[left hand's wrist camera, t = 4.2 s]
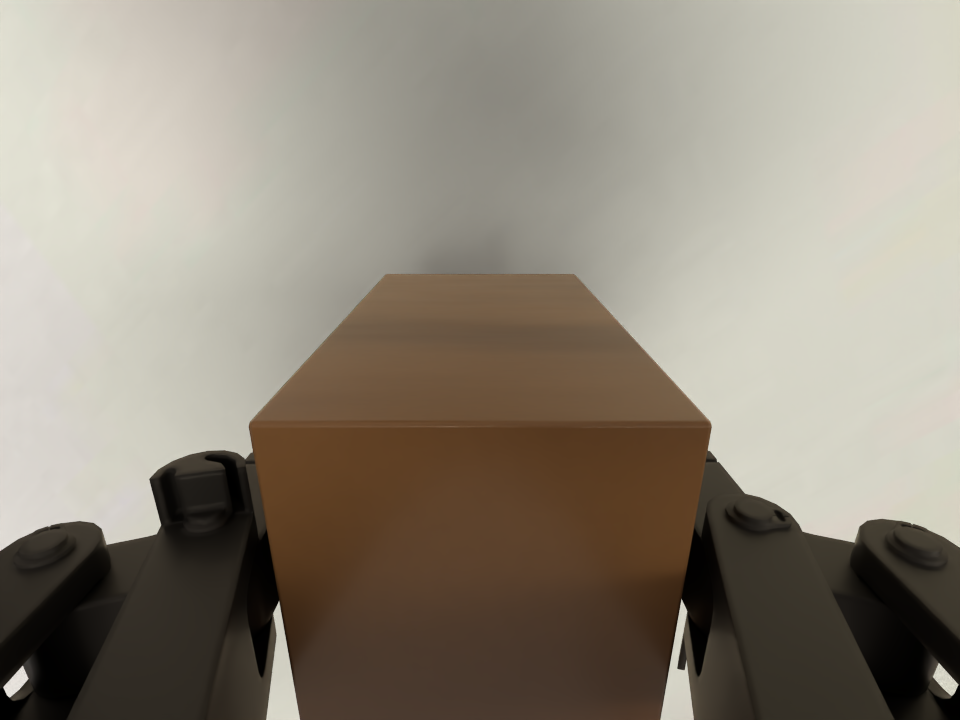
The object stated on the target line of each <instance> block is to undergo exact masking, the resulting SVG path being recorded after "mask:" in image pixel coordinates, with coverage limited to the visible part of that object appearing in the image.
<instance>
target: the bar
mask: <svg viewBox="0 0 960 720" xmlns="http://www.w3.org/2000/svg"><path fill="white" fill-rule="evenodd" d="M711 428H712V427H711V422H710V421H709V420H708V419H707V418H706V417H705V415H704V414H703V413H702V412H701V411H700V410H699V409H698V408H697V407H696V406H695V405H694V404H693V402H692V401H691V400H690V399H689V398H688V397H687V396H686V395H685V394H684V393H683V392H682V390H681V389H680V388H679V387H678V386H677V385H676V384H675V383H674V382H673V381H672V380H671V379H670V377H669V376H668V375H667V374H666V373H665V372H664V371H663V370H662V369H661V368H660V367H659V366H658V364H657V363H656V362H655V361H654V360H653V359H652V358H651V357H650V356H649V355H648V354H647V352H646V351H645V350H644V349H643V348H642V347H641V346H640V345H639V344H638V343H637V342H636V341H635V339H634V338H633V337H632V336H631V335H630V334H629V333H628V332H627V331H626V330H625V329H624V327H623V326H622V325H621V324H620V323H619V322H618V321H617V320H616V319H615V318H614V317H613V316H612V314H611V313H610V312H609V311H608V310H607V309H606V308H605V307H604V306H603V305H602V304H601V303H600V301H599V300H598V299H597V298H596V297H595V296H594V295H593V294H592V293H591V292H590V291H589V289H588V288H587V287H586V286H585V285H584V284H583V283H582V282H581V281H580V280H579V279H578V278H577V276H576V275H574V274H386V275H385V276H384V277H383V278H382V279H381V280H380V281H379V282H378V283H377V285H376V286H375V287H374V288H373V289H372V290H371V291H370V292H369V293H368V294H367V295H366V297H365V298H364V299H363V300H362V301H361V302H360V303H359V304H358V305H357V306H356V307H355V308H354V310H353V311H352V312H351V313H350V314H349V315H348V316H347V317H346V318H345V319H344V320H343V321H342V323H341V324H340V325H339V326H338V327H337V328H336V329H335V330H334V331H333V332H332V333H331V334H330V336H329V337H328V338H327V339H326V340H325V341H324V342H323V343H322V344H321V345H320V346H319V348H318V349H317V350H316V351H315V352H314V353H313V354H312V355H311V356H310V357H309V358H308V359H307V361H306V362H305V363H304V364H303V365H302V366H301V367H300V368H299V369H298V370H297V371H296V372H295V374H294V375H293V376H292V377H291V378H290V379H289V380H288V381H287V382H286V383H285V384H284V385H283V387H282V388H281V389H280V390H279V391H278V392H277V393H276V394H275V395H274V396H273V397H272V399H271V400H270V401H269V402H268V403H267V404H266V405H265V406H264V407H263V408H262V409H261V410H260V412H259V413H258V414H257V415H256V416H255V417H254V418H253V419H252V420H251V421H250V424H249V431H250V436H251V442H252V448H253V453H254V459H255V465H256V470H257V476H258V482H259V488H260V493H261V499H262V505H263V510H264V516H265V522H266V527H267V533H268V539H269V545H270V550H271V556H272V562H273V567H274V573H275V579H276V584H277V590H278V596H279V602H280V607H281V613H282V619H283V624H284V630H285V636H286V641H287V647H288V653H289V659H290V664H291V670H292V676H293V681H294V687H295V693H296V698H297V704H298V710H299V715H300V720H660V718H661V712H662V706H663V700H664V695H665V689H666V683H667V678H668V672H669V666H670V661H671V655H672V649H673V644H674V638H675V632H676V627H677V621H678V615H679V610H680V604H681V598H682V593H683V587H684V581H685V575H686V570H687V564H688V558H689V553H690V547H691V541H692V536H693V530H694V524H695V519H696V513H697V507H698V502H699V496H700V490H701V485H702V479H703V473H704V468H705V462H706V456H707V450H708V445H709V439H710V433H711Z"/></svg>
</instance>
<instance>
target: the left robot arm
mask: <svg viewBox="0 0 960 720" xmlns="http://www.w3.org/2000/svg"><path fill="white" fill-rule="evenodd" d="M149 480H150V484H151V487H152V491H153V495H154V499H155V503H156V506H157V510H158V514H159V518H160V522H161V527H160V529H159V531H158V533H157V534H156V535H153V536H149V537H144V538H139V539H134V540H129V541H124V542H119V543H114V544H109V545H106V542H105V538H104V535H103V532H102V529H101V528H100V527H98V526H97V525H96V524H94V523H89V522H81V521H77V522H69V523H60V524H55V525H51V527H48V526H47V527H44V528H41V529H38V530H36V531H35V532H33V533H31V534H29V535H27V536H25V537H22V538H20V539H18V540H16V541H15V542H13V543H12V544H10V545H9V546H7V547H6V548H4V549H3V550H1V551H0V720H266V716H267V708H268V700H269V692H270V684H271V676H272V668H273V660H274V651H275V643H276V628H275V622H274V617H273V612H274V610H275V608H276V606H277V604H278V602H279V596H278V590H277V584H276V579H275V573H274V567H273V562H272V556H271V550H270V545H269V539H268V533H267V527H266V522H265V516H264V510H263V505H262V499H261V493H260V488H259V482H258V476H257V470H256V465H255V459H254V453H250V455H249V456H248V457H247V458H246V459H244V458H243V457H242V456H240V455H239V454H238V453H234V452H229V451H225V450H224V451H206V452H201V453H196V454H191V455H188V456H185V457H183V458H180V459H177V460H174V461H172V462H170V463H169V464H167V465H165V466H164V467H162V468H160V469H159V470H158V471H157V472H156V473H155V474H154V475H153V476H152V477H151V478H150V479H149ZM682 600H683V603H684V605H685V607H686V609H687V617H686V622H685V627H684V633H683V638H682V644H681V649H680V655H679V661H678V668H677V669H681V670H685V665H686V659H687V666H688V674H689V683H690V691H691V699H692V707H693V715H694V720H960V548H959V547H958V546H956V545H955V544H953V543H952V542H950V541H949V540H947V539H946V538H944V537H942V536H940V535H938V534H935V533H933V532H931V531H929V530H927V529H926V528H924V527H921V526H918V525H915V524H913V525H912V524H911V523H907V522H903V521H894V520H886V519H878V520H870V521H867V522H865V523H864V524H863V525H861V526H860V527H859V530H858V534H857V537H856V540H855V543H853V542H848V541H843V540H838V539H833V538H828V537H823V536H818V535H813V534H809V533H805V532H802V530H801V528H800V526H799V524H798V523H797V522H796V520H795V519H794V518H793V517H792V515H791V514H790V513H788V512H787V511H785V510H784V509H782V508H781V507H779V506H778V505H776V504H774V503H772V502H770V501H767V500H765V499H763V498H760V497H756V496H752V495H748V494H745V493H744V492H743V491H742V490H741V488H740V487H739V486H738V485H737V484H736V482H735V481H734V480H733V479H732V477H731V476H730V475H729V474H728V473H727V471H726V470H725V469H724V468H723V467H722V465H721V464H720V463H719V462H717V459H716V458H715V457H714V456H713V454H712V453H711V452H710V451H708V450H707V456H706V462H705V468H704V473H703V479H702V485H701V490H700V496H699V502H698V507H697V513H696V519H695V524H694V530H693V536H692V541H691V547H690V553H689V558H688V564H687V570H686V575H685V581H684V587H683V593H682ZM938 663H940V664H941V666H942V667H943V668H944V669H945V670H946V671H947V672H948V673H949V674H950V675H951V677H952V678H953V679H954V680H955V681H956V682H957V683H958V684H959V685H958V687H957V689H956V692H955V694H954V695H953V696H951V695H949V694H948V693H947V692H946V691H945V690H944V689H943V688H942V687H941V686H940V685H939V684H938V683H937V681H936V680H935V679H934V678H933V675H934V673H935V670H936V668H937V666H938ZM22 666H23V667H24V669H25V671H26V674H27V676H28V678H29V679H28V680H27V682H26V683H25V684H24V685H23V686H22V687H21V688H20V690H19V691H17V692H16V693H15V694H14V695H13V696H11V697H10V698H9V697H8V696H7V695H6V693H5V690H4V688H3V687H4V686H5V684H6V683H7V682H8V681H9V680H10V679H11V678H12V677H13V676H14V674H15V673H16V672H17V671H18V670H19V669H20V668H21V667H22Z"/></svg>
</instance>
